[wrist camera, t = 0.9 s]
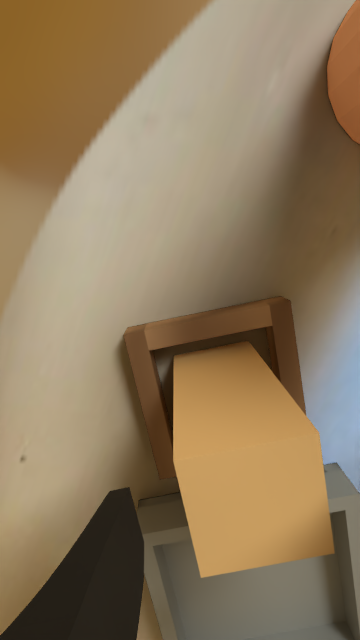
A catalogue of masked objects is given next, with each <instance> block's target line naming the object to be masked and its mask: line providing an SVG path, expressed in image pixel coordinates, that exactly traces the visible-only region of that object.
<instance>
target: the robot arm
mask: <svg viewBox="0 0 360 640" xmlns="http://www.w3.org/2000/svg"><path fill="white" fill-rule="evenodd" d="M143 581H144V539H143V536H142V532H141V528H140V525H139V521H138V517H137V514H136V510H135V506H134V503H133V499H132V496H131V492H130V488H129V487H128V488H123V489H118V490H113V491H110V492H109V493H108V494H107V496H106V497H105V499H104V500H103V502H102V503H101V505H100V506H99V508H98V509H97V511H96V513H95V514H94V516H93V517H92V519H91V520H90V522H89V523H88V525H87V526H86V528H85V529H84V531H83V532H82V534H81V535H80V537H79V538H78V539H77V541H76V542H75V544H74V545H73V547H72V548H71V550H70V551H69V552H68V554H67V555H66V557H65V558H64V559H63V561H62V562H61V563H60V565H59V566H58V567H57V569H56V570H55V571H54V573H53V574H52V575H51V577H50V578H49V579H48V581H47V582H46V583H45V585H44V586H43V587H42V588H41V590H40V591H39V592H38V593H37V594H36V596H35V597H34V598H33V599H32V601H31V602H30V603H29V604H28V605H27V606H26V608H25V609H24V610H23V611H22V612H21V613H20V614H19V616H18V617H17V618H16V619H15V620H14V621H13V622H12V624H11V625H10V626H9V627H8V628H7V629H6V630H5V631H4V632H3V633H2V634H1V635H0V640H136V639H137V631H138V623H139V615H140V607H141V598H142V590H143Z"/></svg>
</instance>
